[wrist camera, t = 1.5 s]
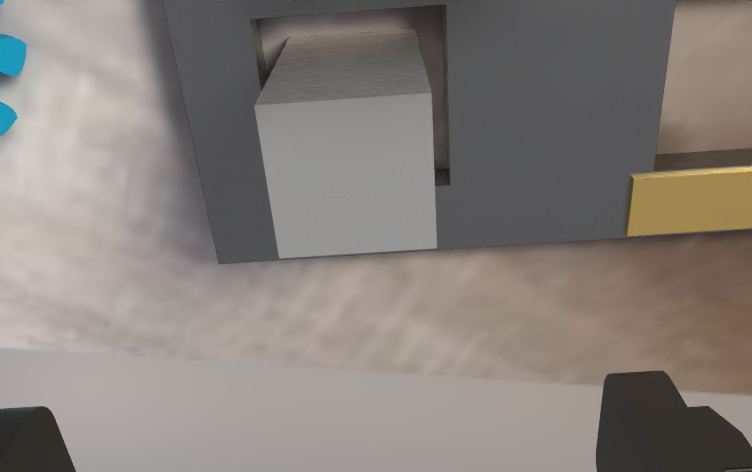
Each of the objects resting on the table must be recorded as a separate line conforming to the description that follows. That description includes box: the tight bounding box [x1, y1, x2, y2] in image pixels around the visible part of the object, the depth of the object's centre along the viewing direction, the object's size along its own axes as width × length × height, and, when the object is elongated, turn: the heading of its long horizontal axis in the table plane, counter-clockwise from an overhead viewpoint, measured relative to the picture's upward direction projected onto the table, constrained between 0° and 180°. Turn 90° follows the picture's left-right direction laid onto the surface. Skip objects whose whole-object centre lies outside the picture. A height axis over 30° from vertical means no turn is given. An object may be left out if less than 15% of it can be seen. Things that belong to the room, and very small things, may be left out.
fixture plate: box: [162, 0, 752, 264], centre depth 24 cm, size 26×12×2 cm, turn 94°
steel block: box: [254, 28, 437, 259], centre depth 22 cm, size 4×4×8 cm
